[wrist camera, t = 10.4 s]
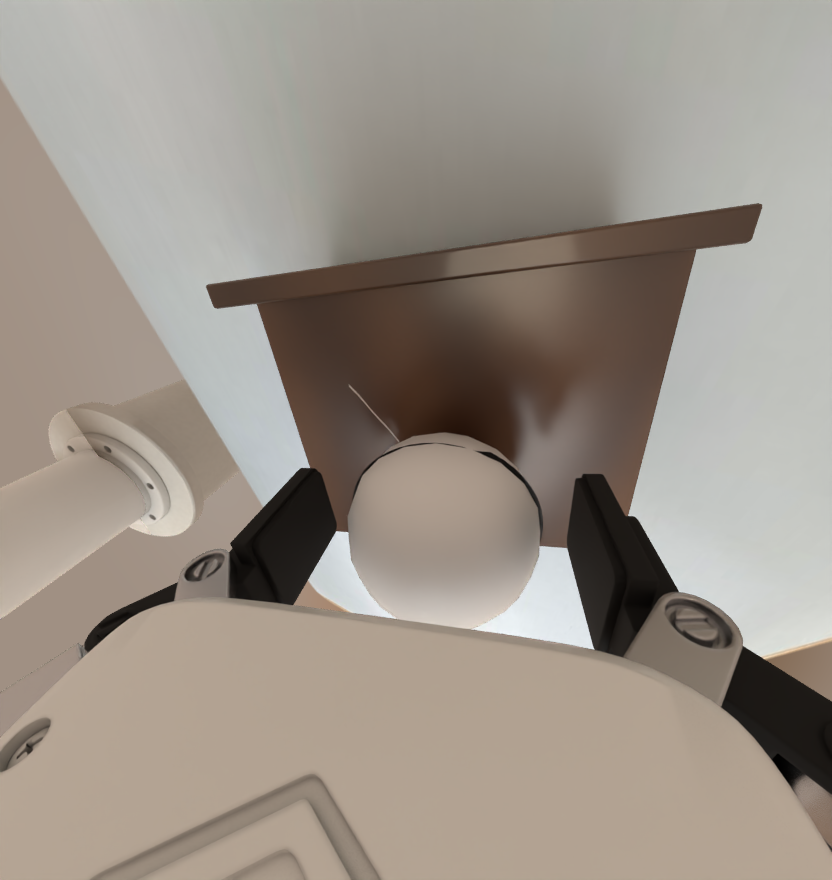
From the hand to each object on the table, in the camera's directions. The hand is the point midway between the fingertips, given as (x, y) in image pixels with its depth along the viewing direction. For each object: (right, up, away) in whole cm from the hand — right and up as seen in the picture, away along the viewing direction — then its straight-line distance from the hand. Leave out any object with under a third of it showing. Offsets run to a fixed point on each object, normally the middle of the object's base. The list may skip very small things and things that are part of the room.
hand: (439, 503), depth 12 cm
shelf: (+2, +7, +10) cm, 12 cm away
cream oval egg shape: (+1, +2, +4) cm, 4 cm away
